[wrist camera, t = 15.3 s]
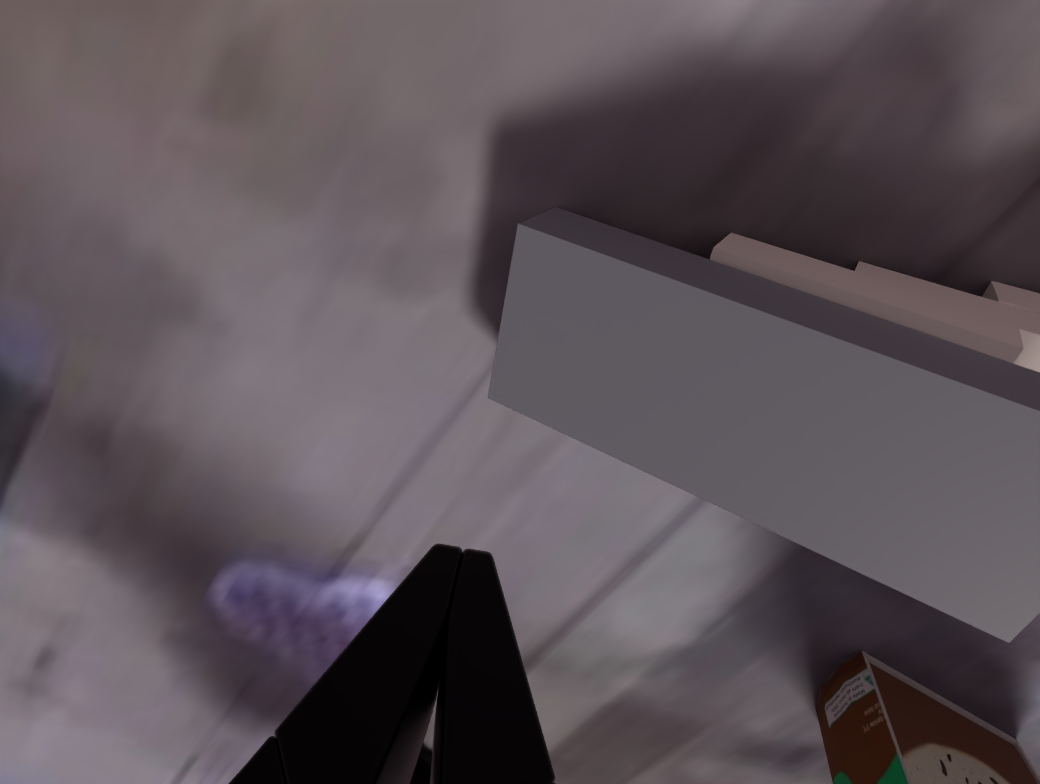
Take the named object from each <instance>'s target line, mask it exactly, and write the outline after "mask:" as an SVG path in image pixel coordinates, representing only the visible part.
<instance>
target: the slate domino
mask: <svg viewBox="0 0 1040 784" xmlns="http://www.w3.org/2000/svg"><path fill="white" fill-rule="evenodd" d="M488 398H489V399H491V400H493V401H495V402H498V403H500V404H502V405H504V406H506V407H508V408H510V409H512V410H515V411H517V412H519V413H521V414H523V415H525V416H527V417H529V418H532V419H534V420H536V421H538V422H540V423H542V424H544V425H546V426H549V427H551V428H553V429H555V430H557V431H559V432H561V433H563V434H566V435H568V436H570V437H572V438H574V439H576V440H578V441H580V442H583V443H585V444H587V445H589V446H591V447H593V448H595V449H597V450H600V451H602V452H604V453H606V454H608V455H610V456H612V457H614V458H617V459H619V460H621V461H623V462H625V463H627V464H629V465H631V466H634V467H636V468H638V469H640V470H642V471H644V472H646V473H649V474H651V475H653V476H655V477H657V478H659V479H661V480H663V481H666V482H668V483H670V484H672V485H674V486H676V487H678V488H680V489H683V490H685V491H687V492H689V493H691V494H693V495H695V496H697V497H700V498H702V499H704V500H706V501H708V502H710V503H712V504H714V505H717V506H719V507H721V508H723V509H725V510H727V511H729V512H731V513H734V514H736V515H738V516H740V517H742V518H744V519H746V520H748V521H751V522H753V523H755V524H757V525H759V526H761V527H763V528H765V529H768V530H770V531H772V532H774V533H776V534H778V535H780V536H782V537H785V538H787V539H789V540H791V541H793V542H795V543H797V544H799V545H802V546H804V547H806V548H808V549H810V550H812V551H814V552H816V553H819V554H821V555H823V556H825V557H827V558H829V559H831V560H833V561H836V562H838V563H840V564H842V565H844V566H846V567H848V568H850V569H853V570H855V571H857V572H859V573H861V574H863V575H865V576H867V577H870V578H872V579H874V580H876V581H878V582H880V583H882V584H884V585H887V586H889V587H891V588H893V589H895V590H897V591H899V592H901V593H904V594H906V595H908V596H910V597H912V598H914V599H916V600H918V601H921V602H923V603H925V604H927V605H929V606H931V607H933V608H935V609H938V610H940V611H942V612H944V613H946V614H948V615H950V616H952V617H955V618H957V619H959V620H961V621H963V622H965V623H967V624H969V625H972V626H974V627H976V628H978V629H980V630H982V631H984V632H986V633H989V634H991V635H993V636H995V637H997V638H999V639H1001V640H1003V641H1006V642H1008V643H1010V642H1011V641H1012V640H1013V639H1014V638H1015V637H1016V636H1017V635H1018V634H1019V633H1020V632H1021V631H1022V630H1023V629H1024V628H1025V627H1026V626H1027V625H1028V624H1029V623H1030V622H1031V621H1032V620H1033V619H1034V618H1035V617H1036V616H1037V615H1038V614H1039V613H1040V372H1037V371H1034V370H1031V369H1028V368H1025V367H1022V366H1019V365H1016V364H1013V363H1010V362H1007V361H1005V360H1002V359H999V358H996V357H993V356H990V355H987V354H984V353H981V352H978V351H975V350H972V349H970V348H967V347H964V346H961V345H958V344H955V343H952V342H949V341H946V340H943V339H940V338H937V337H934V336H932V335H929V334H926V333H923V332H920V331H917V330H914V329H911V328H908V327H905V326H902V325H899V324H896V323H894V322H891V321H888V320H885V319H882V318H879V317H876V316H873V315H870V314H867V313H864V312H861V311H858V310H856V309H853V308H850V307H847V306H844V305H841V304H838V303H835V302H832V301H829V300H826V299H823V298H820V297H818V296H815V295H812V294H809V293H806V292H803V291H800V290H797V289H794V288H791V287H788V286H785V285H782V284H780V283H777V282H774V281H771V280H768V279H765V278H762V277H759V276H756V275H753V274H750V273H747V272H744V271H742V270H739V269H736V268H733V267H730V266H727V265H724V264H721V263H718V262H715V261H712V260H709V259H706V258H704V257H701V256H698V255H695V254H692V253H689V252H686V251H683V250H680V249H677V248H674V247H671V246H668V245H666V244H663V243H660V242H657V241H654V240H651V239H648V238H645V237H642V236H639V235H636V234H633V233H630V232H628V231H625V230H622V229H619V228H616V227H613V226H610V225H607V224H604V223H601V222H598V221H595V220H592V219H590V218H587V217H584V216H581V215H578V214H575V213H572V212H569V211H566V210H563V209H560V208H557V207H554V208H551V209H549V210H547V211H545V212H543V213H540V214H538V215H536V216H534V217H531V218H529V219H527V220H525V221H523V222H520V223H518V226H517V232H516V237H515V243H514V249H513V255H512V260H511V266H510V272H509V278H508V283H507V289H506V295H505V301H504V306H503V312H502V318H501V324H500V329H499V335H498V341H497V347H496V352H495V358H494V364H493V370H492V376H491V381H490V387H489V393H488Z"/></svg>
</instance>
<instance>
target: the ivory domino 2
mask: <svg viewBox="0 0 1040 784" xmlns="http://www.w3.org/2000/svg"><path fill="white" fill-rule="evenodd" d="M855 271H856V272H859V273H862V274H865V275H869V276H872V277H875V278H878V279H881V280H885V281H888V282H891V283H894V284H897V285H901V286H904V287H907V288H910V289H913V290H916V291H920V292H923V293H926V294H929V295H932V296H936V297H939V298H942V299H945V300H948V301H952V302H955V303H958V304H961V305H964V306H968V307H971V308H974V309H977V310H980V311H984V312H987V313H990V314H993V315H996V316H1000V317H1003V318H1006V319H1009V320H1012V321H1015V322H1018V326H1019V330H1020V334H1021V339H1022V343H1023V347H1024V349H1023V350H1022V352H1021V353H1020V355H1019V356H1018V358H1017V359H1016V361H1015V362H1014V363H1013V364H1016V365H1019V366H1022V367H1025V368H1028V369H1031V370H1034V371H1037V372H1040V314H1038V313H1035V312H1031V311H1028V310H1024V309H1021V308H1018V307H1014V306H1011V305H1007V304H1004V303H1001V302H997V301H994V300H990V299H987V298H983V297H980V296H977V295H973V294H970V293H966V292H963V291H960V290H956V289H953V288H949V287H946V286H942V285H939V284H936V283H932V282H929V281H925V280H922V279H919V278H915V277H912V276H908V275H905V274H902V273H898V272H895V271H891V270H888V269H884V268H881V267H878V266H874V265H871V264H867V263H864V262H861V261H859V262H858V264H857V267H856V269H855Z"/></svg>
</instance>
